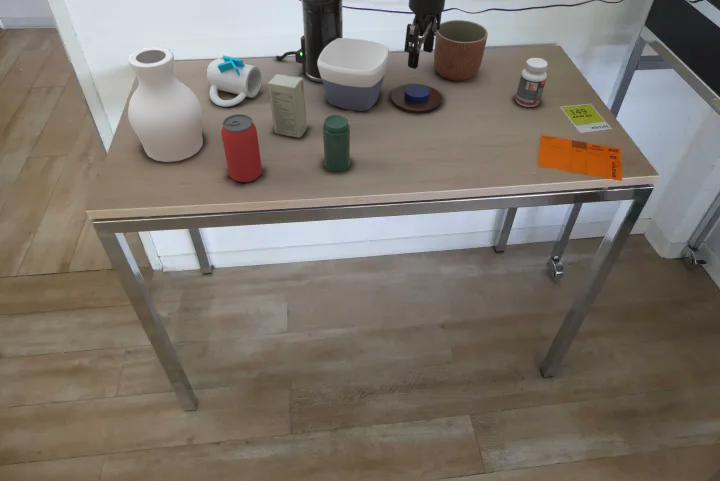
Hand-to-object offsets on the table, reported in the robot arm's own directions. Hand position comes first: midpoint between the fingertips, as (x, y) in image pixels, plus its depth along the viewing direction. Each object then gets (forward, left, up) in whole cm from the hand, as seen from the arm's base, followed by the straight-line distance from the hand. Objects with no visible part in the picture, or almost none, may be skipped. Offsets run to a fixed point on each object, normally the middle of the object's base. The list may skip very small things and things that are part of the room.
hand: (420, 59), depth 127 cm
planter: (+3, +16, -10) cm, 19 cm away
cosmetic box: (-18, -27, -10) cm, 34 cm away
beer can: (-17, -44, -10) cm, 48 cm away
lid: (0, -1, -8) cm, 8 cm away
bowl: (-13, -8, -10) cm, 18 cm away
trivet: (0, -1, -10) cm, 10 cm away
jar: (-3, -32, -10) cm, 34 cm away
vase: (-36, -44, -10) cm, 57 cm away
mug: (-39, -22, -10) cm, 46 cm away
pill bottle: (+23, +12, -10) cm, 28 cm away
